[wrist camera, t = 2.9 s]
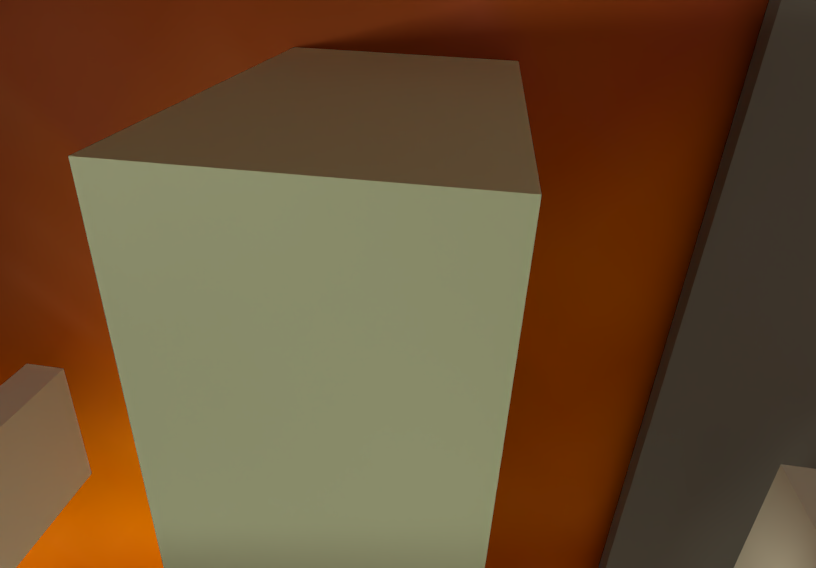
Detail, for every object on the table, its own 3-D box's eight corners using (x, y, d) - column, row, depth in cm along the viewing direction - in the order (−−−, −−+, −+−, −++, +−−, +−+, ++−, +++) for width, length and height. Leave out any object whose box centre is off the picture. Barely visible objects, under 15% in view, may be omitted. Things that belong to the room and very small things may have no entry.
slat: (321, 597, 17) (240, 896, 11) (297, 45, 10) (67, 156, 5) (451, 617, 16) (429, 934, 11) (518, 59, 10) (541, 194, 4)
